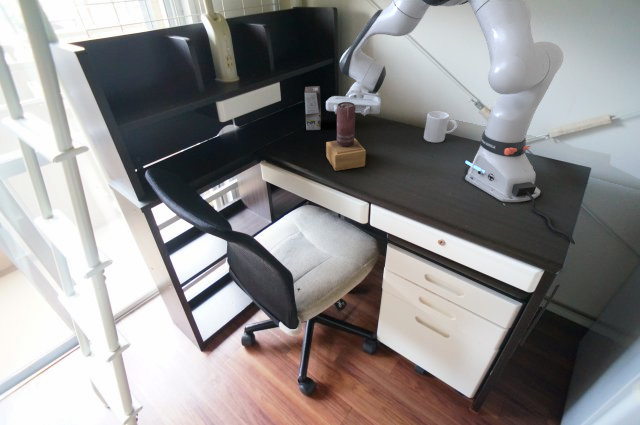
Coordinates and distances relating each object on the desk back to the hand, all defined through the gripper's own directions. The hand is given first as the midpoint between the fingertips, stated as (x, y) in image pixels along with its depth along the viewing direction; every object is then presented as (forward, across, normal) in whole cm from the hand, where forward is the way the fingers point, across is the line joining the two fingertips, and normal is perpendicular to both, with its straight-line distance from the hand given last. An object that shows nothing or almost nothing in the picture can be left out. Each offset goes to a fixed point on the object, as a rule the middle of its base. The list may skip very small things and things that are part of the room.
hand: (349, 112), depth 115 cm
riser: (+8, 0, +15) cm, 17 cm away
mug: (-18, +33, +15) cm, 41 cm away
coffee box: (-22, -20, +16) cm, 33 cm away
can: (+6, 0, +9) cm, 11 cm away
